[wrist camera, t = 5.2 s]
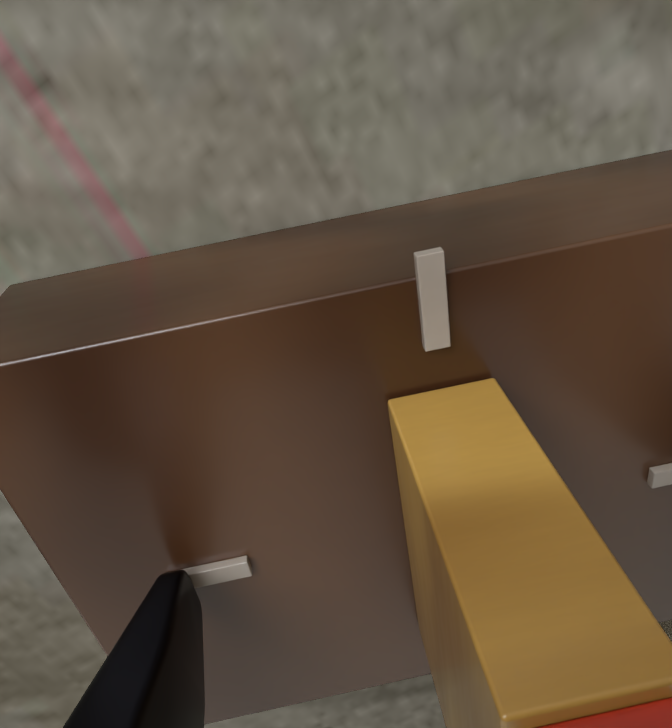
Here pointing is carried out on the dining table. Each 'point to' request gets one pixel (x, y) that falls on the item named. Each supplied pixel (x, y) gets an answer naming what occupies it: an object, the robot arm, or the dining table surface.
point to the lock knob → (517, 577)
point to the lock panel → (335, 413)
